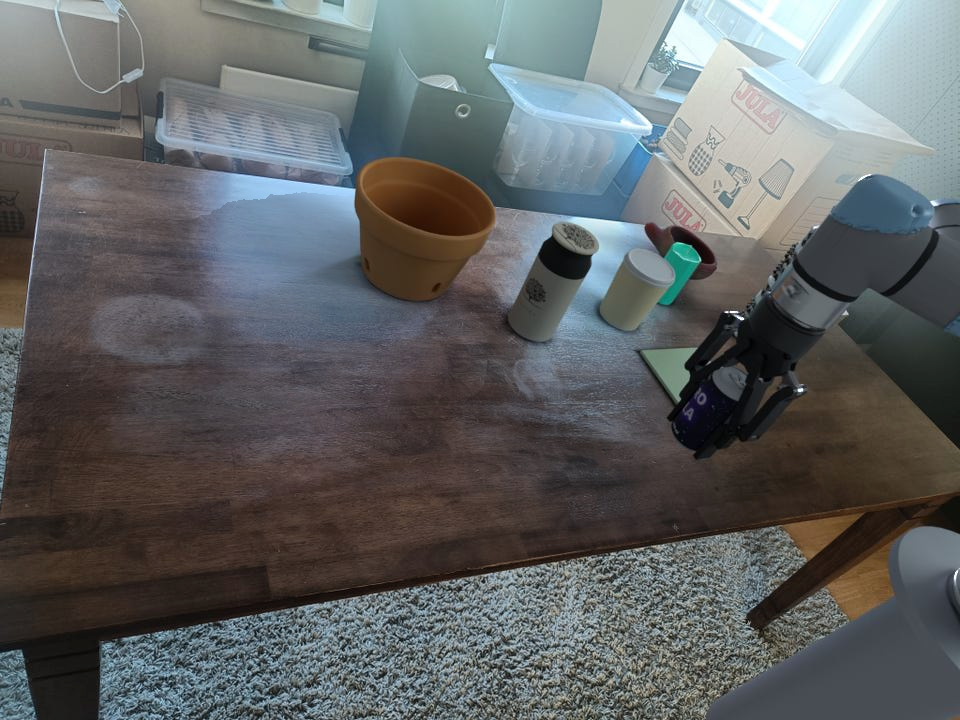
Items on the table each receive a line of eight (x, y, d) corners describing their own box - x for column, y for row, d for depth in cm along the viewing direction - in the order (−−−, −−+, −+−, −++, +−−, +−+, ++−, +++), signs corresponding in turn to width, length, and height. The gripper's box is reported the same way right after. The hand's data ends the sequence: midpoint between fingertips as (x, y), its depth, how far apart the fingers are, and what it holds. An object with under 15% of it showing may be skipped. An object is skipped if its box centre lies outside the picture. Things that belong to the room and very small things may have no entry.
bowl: (681, 252, 140) (701, 222, 135) (714, 290, 133) (736, 260, 128) (626, 249, 133) (644, 217, 127) (657, 289, 125) (679, 257, 120)
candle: (648, 280, 126) (680, 231, 119) (675, 296, 126) (708, 247, 118) (641, 293, 122) (673, 243, 114) (668, 309, 121) (703, 260, 113)
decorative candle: (740, 314, 129) (823, 212, 113) (778, 343, 126) (868, 242, 109) (721, 327, 123) (806, 221, 107) (760, 358, 120) (853, 253, 103)
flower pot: (314, 243, 99) (329, 159, 90) (418, 225, 113) (441, 150, 103) (388, 330, 91) (413, 248, 81) (491, 300, 104) (523, 226, 95)
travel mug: (538, 308, 107) (584, 220, 95) (561, 341, 103) (611, 253, 91) (499, 310, 103) (541, 219, 91) (520, 345, 99) (568, 253, 87)
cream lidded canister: (647, 317, 116) (681, 267, 108) (634, 342, 109) (670, 290, 102) (603, 292, 118) (634, 240, 110) (588, 314, 111) (620, 261, 103)
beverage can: (692, 421, 88) (742, 362, 80) (713, 454, 84) (767, 396, 77) (660, 422, 86) (708, 362, 78) (681, 456, 82) (733, 396, 74)
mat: (743, 408, 106) (746, 406, 106) (684, 416, 100) (686, 413, 99) (697, 349, 114) (699, 347, 114) (639, 352, 108) (641, 350, 107)
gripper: (724, 256, 74) (632, 387, 89) (835, 373, 62) (708, 500, 78) (767, 257, 77) (671, 383, 92) (879, 368, 66) (749, 491, 81)
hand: (688, 436), depth 85 cm, fingers closed on beverage can, 6 cm apart
